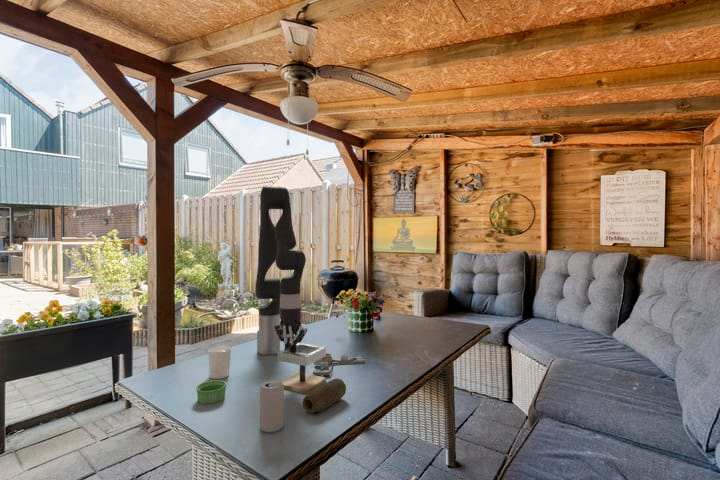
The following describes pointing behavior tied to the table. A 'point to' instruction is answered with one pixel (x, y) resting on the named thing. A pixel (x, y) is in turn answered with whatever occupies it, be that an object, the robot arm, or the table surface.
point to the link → (305, 360)
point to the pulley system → (328, 360)
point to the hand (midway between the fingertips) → (290, 353)
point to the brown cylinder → (324, 395)
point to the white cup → (219, 361)
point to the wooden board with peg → (303, 381)
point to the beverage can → (271, 406)
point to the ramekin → (211, 391)
